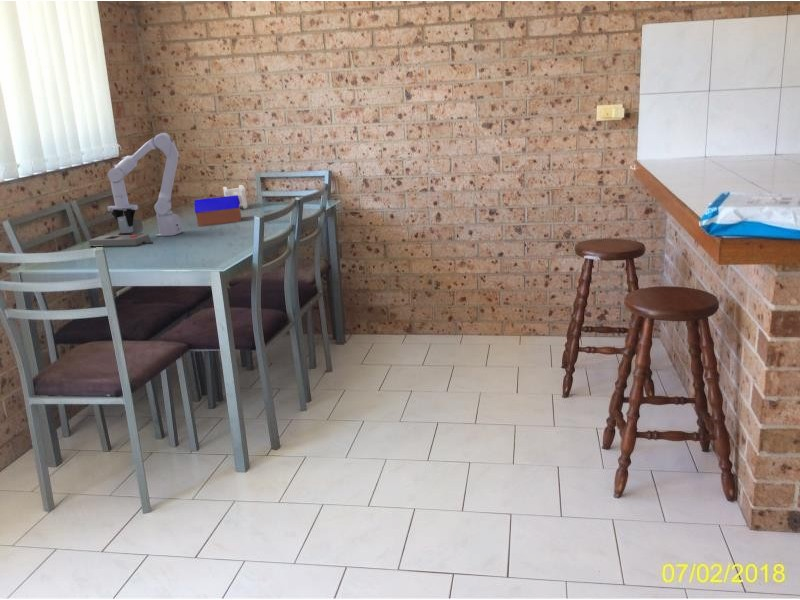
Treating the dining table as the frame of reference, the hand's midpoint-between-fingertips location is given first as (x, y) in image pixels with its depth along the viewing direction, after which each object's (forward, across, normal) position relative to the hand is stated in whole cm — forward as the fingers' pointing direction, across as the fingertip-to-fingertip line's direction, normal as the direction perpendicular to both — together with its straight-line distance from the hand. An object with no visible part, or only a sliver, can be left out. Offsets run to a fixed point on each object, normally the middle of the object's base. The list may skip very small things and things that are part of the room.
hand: (126, 226), depth 328 cm
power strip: (+6, -5, +10) cm, 13 cm away
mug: (+4, +10, -8) cm, 13 cm away
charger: (+2, 0, 0) cm, 3 cm away
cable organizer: (+6, -16, -67) cm, 69 cm away
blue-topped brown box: (+6, -26, -33) cm, 43 cm away
